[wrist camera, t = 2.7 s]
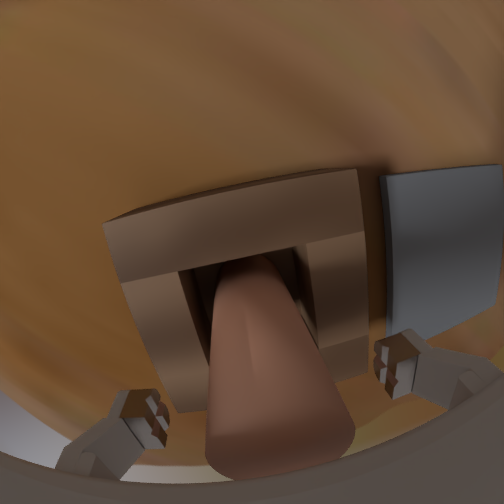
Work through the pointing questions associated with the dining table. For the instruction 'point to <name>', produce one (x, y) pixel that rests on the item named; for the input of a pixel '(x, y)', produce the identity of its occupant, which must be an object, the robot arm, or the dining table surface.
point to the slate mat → (441, 246)
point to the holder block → (237, 246)
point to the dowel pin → (267, 380)
